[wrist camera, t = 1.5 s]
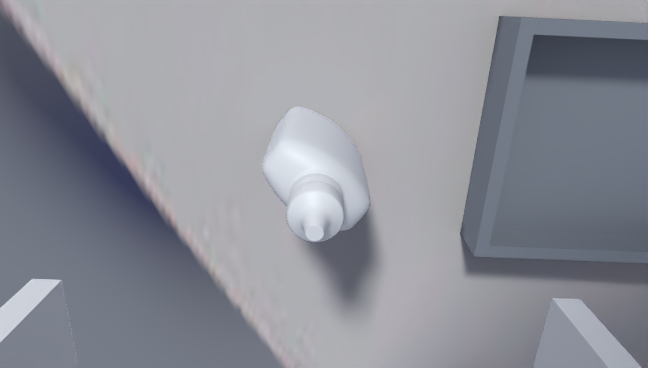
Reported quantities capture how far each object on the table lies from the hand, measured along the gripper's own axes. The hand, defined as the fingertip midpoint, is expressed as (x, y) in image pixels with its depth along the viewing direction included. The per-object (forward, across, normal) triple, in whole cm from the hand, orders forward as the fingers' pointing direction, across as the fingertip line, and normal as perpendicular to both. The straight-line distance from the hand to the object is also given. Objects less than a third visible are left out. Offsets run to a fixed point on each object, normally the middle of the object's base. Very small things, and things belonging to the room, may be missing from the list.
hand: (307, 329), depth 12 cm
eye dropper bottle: (+17, 0, 0) cm, 17 cm away
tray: (+17, +20, +1) cm, 26 cm away
